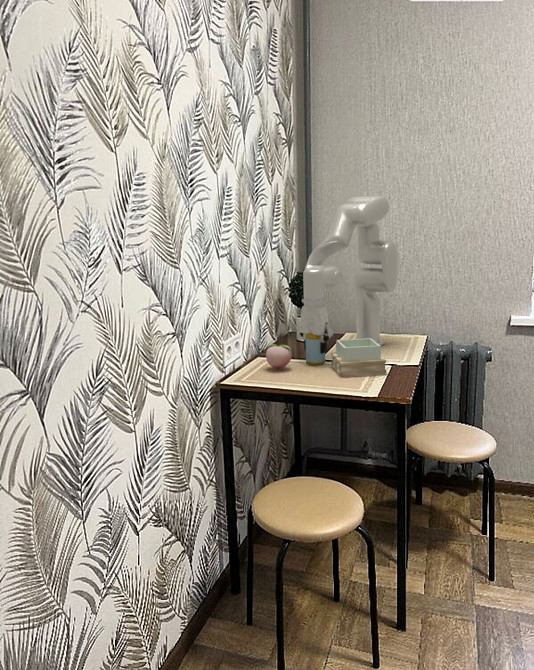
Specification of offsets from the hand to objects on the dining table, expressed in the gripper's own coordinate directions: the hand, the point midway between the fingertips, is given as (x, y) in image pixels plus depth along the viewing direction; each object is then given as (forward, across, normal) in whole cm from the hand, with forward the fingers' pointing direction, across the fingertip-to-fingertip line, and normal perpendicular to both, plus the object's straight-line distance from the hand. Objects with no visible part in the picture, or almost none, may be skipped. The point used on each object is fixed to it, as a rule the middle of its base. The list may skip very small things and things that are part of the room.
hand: (315, 351), depth 225 cm
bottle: (+5, 0, 0) cm, 5 cm away
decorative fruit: (+5, -6, -14) cm, 16 cm away
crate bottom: (+5, +18, 0) cm, 18 cm away
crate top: (0, +18, 0) cm, 18 cm away
